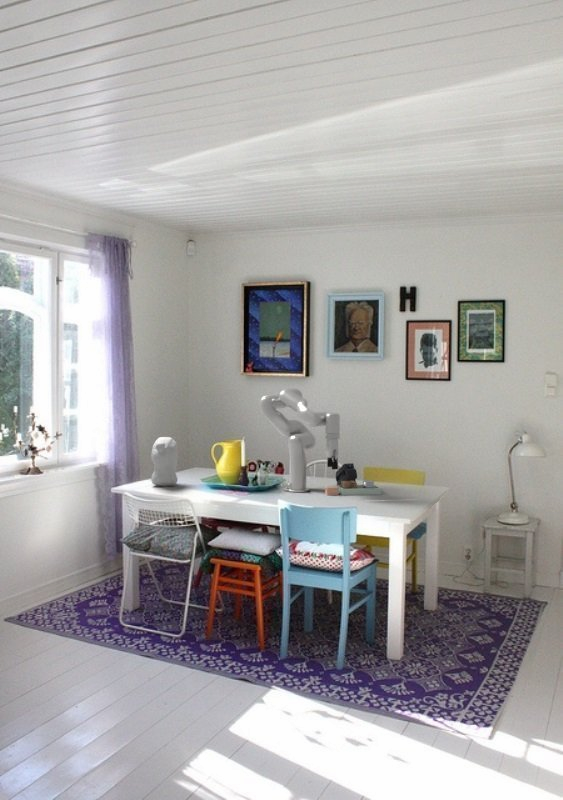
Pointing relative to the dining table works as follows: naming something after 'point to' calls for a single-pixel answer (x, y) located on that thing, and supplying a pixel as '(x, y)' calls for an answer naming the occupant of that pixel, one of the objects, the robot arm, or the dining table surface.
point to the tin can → (368, 484)
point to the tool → (346, 473)
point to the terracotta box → (331, 490)
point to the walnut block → (348, 485)
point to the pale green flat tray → (359, 490)
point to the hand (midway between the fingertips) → (332, 467)
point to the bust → (164, 462)
